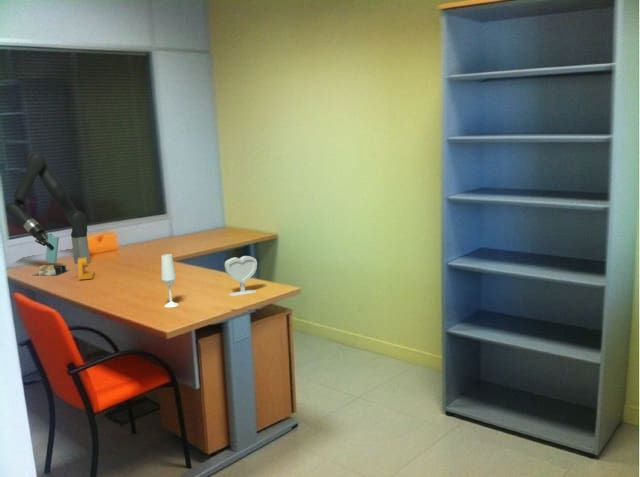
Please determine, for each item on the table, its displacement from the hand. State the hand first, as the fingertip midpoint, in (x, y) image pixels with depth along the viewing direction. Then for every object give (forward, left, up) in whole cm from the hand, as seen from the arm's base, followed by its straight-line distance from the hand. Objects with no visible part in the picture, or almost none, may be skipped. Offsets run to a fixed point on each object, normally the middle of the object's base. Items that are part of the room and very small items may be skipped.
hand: (54, 248), depth 362 cm
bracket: (+18, +22, -15) cm, 32 cm away
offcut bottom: (+7, -3, -14) cm, 16 cm away
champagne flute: (+86, +78, -15) cm, 117 cm away
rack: (+4, -2, -15) cm, 16 cm away
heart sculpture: (+73, +111, -15) cm, 134 cm away
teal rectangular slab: (-1, -3, -8) cm, 9 cm away
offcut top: (+7, -3, -11) cm, 14 cm away
